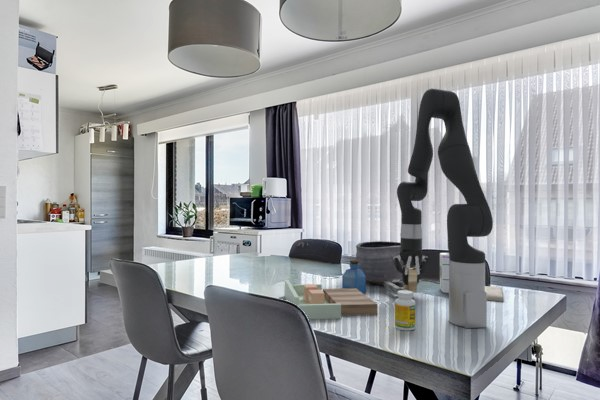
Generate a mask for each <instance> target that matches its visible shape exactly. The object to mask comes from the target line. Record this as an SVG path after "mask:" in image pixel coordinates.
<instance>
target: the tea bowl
mask: <svg viewBox="0 0 600 400" xmlns="http://www.w3.org/2000/svg"><path fill="white" fill-rule="evenodd" d="M355 248H356V253H355V258H356V259H355V260H358V264H359V267H358V269H361V270H362V271H363V273H364V274H365V276H366V281H370V283H372V284H376V285H382V286H384V281H390V282H391V283H393V284H396V283H399V282H402V279H403V278H402V273H400V272H398V271H397V269H396V266H395V264H394V261H393V259H392V258H393V257H396V256H398V255H399V254H400V251H401V249H400V242H397V241H385V240H384V241H380V240H376V241H364V242H359V243H358V244H356V245H355ZM400 264H401V267H402V269H403V261H402V259H401V258H400Z"/></svg>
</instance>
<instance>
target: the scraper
mask: <svg viewBox="0 0 600 400" xmlns="http://www.w3.org/2000/svg"><path fill="white" fill-rule="evenodd" d="M407 275H408V285H405V284H404V283H403V287H400V286H398V285H396V283H394V284H393V283H391V282H390V281H384V285H383V287H384V288H386V289H387V290H389V291H390V292H392V293H393V294H395V295H397V293H398V291H400V290H407V291H412V292H413V294H414V293H417V291H418V290H417V289H418V284H417V270H416V269H413V267H410V268H409V270H408V274H407Z"/></svg>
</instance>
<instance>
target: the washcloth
mask: <svg viewBox="0 0 600 400" xmlns="http://www.w3.org/2000/svg"><path fill="white" fill-rule="evenodd" d="M485 292H486V293H487V301H491V302H493V301H494V302H505V301H504V294H503V289H502V287H500V286H489V285H488V286H487V285H485Z"/></svg>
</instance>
